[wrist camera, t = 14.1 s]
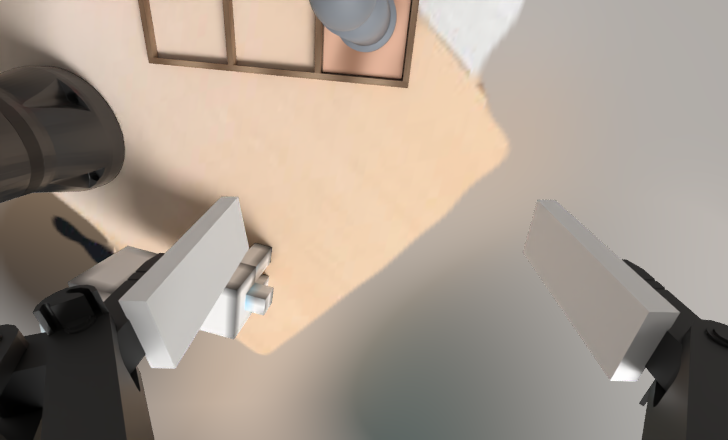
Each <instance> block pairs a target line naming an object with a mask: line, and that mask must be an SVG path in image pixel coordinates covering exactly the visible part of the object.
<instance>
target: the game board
mask: <svg viewBox="0 0 728 440" xmlns="http://www.w3.org/2000/svg"><path fill="white" fill-rule="evenodd" d="M138 3H139V8H140V14H141V20H142V25H143V31H144V37H145V43H146V48H147V54H148V60H149V63H153V64H164V65H174V66H184V67H195V68H205V69H215V70H226V71H236V72H246V73H257V74H267V75H277V76H288V77H298V78H308V79H319V80H329V81H339V82H350V83H360V84H370V85H381V86H391V87H401V88H408V83H409V75H410V67H411V59H412V52H413V44H414V36H415V29H416V21H417V13H418V6H419V0H413V2H412V10H411V18H410V26H409V34H408V42H407V50H406V58H405V67H404V75H403V81H396V80H386V79H375V78H365V77H354V76H344V75H333V74H323V73H322V50H323V24H322V22H321V21H320V20H319V19H318V18H317V16H316V15H315V69H314V73H312V72H301V71H291V70H280V69H270V68H259V67H249V66H238V65H237V62H236V48H235V34H234V20H233V7H232V0H223V12H224V24H225V36H226V48H227V60H228V64H217V63H207V62H196V61H186V60H175V59H165V58H158V54H157V48H156V42H155V36H154V29H153V23H152V17H151V11H150V5H149V0H138ZM394 3H395V7H396V13H397V20H396V26H395V30H394V32H393V34H392V36H391V38H390V39H389V41H388V42H387V43H386V44H385V45H384V46H383V47H381V48H380V49H378V50H376V51H373V52H359V51H356V50H354V49H352V48H350V47H349V46H347V45H346V44H345V43H344V42H343V41H342V39H341V38H340V36H338V35H336V34H334V33H332V32H331V31H329V30H328V29H327V28H326V27H325V26H324V52H323V72H333V73H344V74H354V75H365V76H375V77H386V78H396V79H402V70H403V62H404V54H405V46H406V38H407V29H408V21H409V13H410V5H411V0H394Z"/></svg>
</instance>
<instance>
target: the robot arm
mask: <svg viewBox="0 0 728 440" xmlns="http://www.w3.org/2000/svg"><path fill="white" fill-rule="evenodd" d="M123 161H124V141H123V136H122V132H121V129H120V127H119V124H118V122H117V120H116V118H115V116H114V114H113V112H112V110H111V109H110V107H109V106H108V104H107V103H106V102H105V100H104V99H103V98H102V97H101V96H100V94H99V93H98V92H97V91H96V90H95V89H94V88H93V87H91V86H90V85H89V84H88V83H87V82H85V81H84V80H83V79H81V78H80V77H78V76H76V75H74V74H73V73H71V72H68V71H66V70H63V69H60V68H56V67H50V66H24V67H18V68H14V69H11V70H9V71H6V72H3V73H0V203H2V202H5V201H8V200H11V199H14V198H17V197H20V196H24V195H27V194H30V193H38V192H77V191H86V190H90V189H93V188H96V187H99V186H102V185H104V184H107V183H109V182H110V181H112V180H113V179H114V178H115V177H116V176H117V175H118V173H119V172H120V170H121V167H122V165H123ZM248 249H249V245H248V241H247V236H246V231H245V227H244V222H243V217H242V212H241V208H240V203H239V198H238V197H220V198H219V199H218V200H217V202H216V203H215V204H214V205H213V206H212V207H211V208H210V209H209V210H208V211H207V212H206V213H205V214H204V215H203V216H202V217H201V218H200V219H199V220H198V221H197V222H196V223H195V224H194V225H193V226H192V227H191V228H190V229H189V230H188V231H187V232H186V233H185V234H184V235H183V236H182V237H181V238H180V239H179V240H178V241H177V242H176V243H175V244H174V245H173V246H172V247H171V248H170V249H169V250H168V251H167V252H166V253H159V254H157V255H156V256H154V257H152V258H150V259H149V260H147V261H145V262H144V263H143V264H142V265H141V266H140V267H139V268H138V269H137V270H136V273H133V274H132V275H131V276H130V277H129V278H128V280H127V281H125V282H124V283H123V284H121V285H120V286H119V287H118V288H117V289H116V290H115V291H114V292H113V293H112V294H111V295H110V296H109V297H108V298H107V299H106V300H105V301H104V302H103V300H102V298H101V296H100V294H99V293H98V291H97V289H96V288H95V286H91V285H77V286H73V287H69V288H65V289H63V290H60V291H58V292H56V293H54V294H52V295H50V296H49V297H47V298H45V299H44V300H42V301H41V302H40V303H39V304H38V305H37V306H36V307H35V309H34V311H33V314H34V315H35V317H36V318H37V320H38V321H39V323H40V324H41V326H42V327H43V329H44V330H45V332H43V333H39V334H34V335H29V336H23V335H22V333H21V332H20V331H19V329H18V328H17V327H16V326H15V325H9V324H6V325H0V440H154V435H153V431H152V426H151V421H150V416H149V411H148V407H147V402H146V398H145V392H144V387H143V383H142V378H141V373H140V371H139V369H138V368H137V365H138V364H139V362H140V361H141V360H142V358H143V357H144V356H146V358H147V360H148V362H149V364H150V366H151V368H176V367H177V365H178V363H179V362H180V360H181V359H182V357H183V355H184V354H185V352H186V350H187V349H188V347H189V346H190V344H191V342H192V341H193V339H194V337H195V336H196V334H197V332H198V331H199V329H200V328H201V326H202V324H203V323H204V321H205V319H206V318H207V316H208V315H209V313H210V311H211V310H212V308H213V306H214V305H215V303H216V301H217V300H218V298H219V297H220V295H221V293H222V292H223V290H224V288H225V287H226V285H227V284H228V282H229V280H230V279H231V277H232V275H233V274H234V272H235V270H236V269H237V267H238V266H239V264H240V262H241V261H242V259H243V257H244V256H245V254H246V252H247V251H248ZM523 254H524V255H525V256H526V258H527V259H528V261H529V262H530V264H531V265H532V267H533V268H534V270H535V271H536V272H537V274H538V276H539V277H540V278H541V280H542V281H543V283H544V284H545V286H546V287H547V289H548V290H549V292H550V293H551V295H552V296H553V297H554V299H555V300H556V302H557V303H558V305H559V306H560V308H561V309H562V311H563V312H564V314H565V315H566V316H567V318H568V320H569V321H570V322H571V324H572V325H573V327H574V328H575V330H576V331H577V333H578V334H579V336H580V337H581V339H582V340H583V342H584V343H585V344H586V346H587V347H588V349H589V350H590V352H591V353H592V355H593V356H594V358H595V359H596V361H597V362H598V363H599V365H600V366H601V368H602V369H603V371H604V372H605V374H606V375H607V376H608V378H609V380H610V381H637V380H638V379H639V377H640V376H641V374H642V372H643V371H644V369H645V368H647V369H648V371H649V372H650V373H651V374H652V375H653V377H654V378H655V380H654V382H653V383H652V385H651V386H650V388H649V389H648V391H647V392H646V394H645V395H644V397H643V398H642V400H641V401H640V403H639V404H641V405H643V406H644V405H645V404H646V402H648V403H647V409H646V415H645V422H644V429H643V435H642V440H728V326H727V325H725V324H722V323H718V322H715V321H712V320H701V319H700V318H699V317H698V316H697V315H695V314H694V313H693V312H692V311H691V310H690V309H689V308H687V307H686V306H685V305H684V304H683V303H682V302H681V301H679V300H678V299H677V298H676V297H675V296H674V295H672V294H671V293H670V292H669V291H668V290H665V288H664V287H663V286H662V285H661V284H660V283H658V282H657V281H655V280H654V278H653V277H652V276H650V275H649V274H648V273H647V272H646V271H645V270H643V269H642V268H640V267H639V266H637V265H635V264H633V263H631V262H629V261H628V260H621V259H620V258H619V257H618V256H617V255H616V254H615V253H614V252H613V251H611V250H610V249H609V248H608V247H607V246H606V245H605V244H604V243H603V242H601V241H600V240H599V239H598V238H597V237H596V236H595V235H593V233H591V232H590V231H589V230H588V229H587V228H586V227H585V226H584V225H583V224H581V223H580V222H579V221H578V220H577V219H576V218H575V217H574V216H573V215H572V214H570V213H569V212H568V211H567V210H566V209H565V208H564V207H563V206H562V205H560V204H559V203H558V202H557V201H556V200H537V203H536V207H535V210H534V214H533V217H532V221H531V224H530V228H529V232H528V236H527V239H526V242H525V246H524V250H523Z"/></svg>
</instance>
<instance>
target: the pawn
mask: <svg viewBox="0 0 728 440" xmlns="http://www.w3.org/2000/svg"><path fill="white" fill-rule="evenodd" d="M309 1H310V4H311V7H312V9H313V11H314V13H315V15H316V16H317V18H318V19H319V20H320V21H321V22H322V24H323V25H324V26H325V27H326V28H327V29H328V30H329V31H331V32H332V33H334V34H336V35H338V36H340V38H341V39H342V41H343V42H344V43H345V44H346V45H347V46H349V47H350V48H352V49H354V50H356V51H359V52H373V51H376V50H378V49H380V48H381V47H383V46H384V45H385V44H386V43H387V42H388V41H389V39H390V38H391V36H392V34H393V32H394V30H395V26H396V20H397V13H396V7H395V3H394V0H309Z"/></svg>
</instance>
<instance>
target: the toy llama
mask: <svg viewBox="0 0 728 440" xmlns="http://www.w3.org/2000/svg"><path fill="white" fill-rule="evenodd" d="M271 252H272V247H269V246H265V245H261V244H257V243H254V244H253V245H252V246H251V248H250V249H249V250H248V251H247V252H246V254H245V256H244V257H243V259H242V261H241V262H240V264H239V266H238V267H237V269H236V270H235V272H234V274H233V275H232V277H231V279H230V280H229V282H228V284H227V285H226V287H225V288H224V290H223V292H222V293H221V295H220V297H219V298H218V300H217V301H216V303H215V305H214V306H213V308H212V310H211V311H210V313H209V315H208V316H207V318H206V319H205V321H204V323H203V324H202V326H201V328H200V329H199V330H202V331H206V332H210V333H213V334H217V335H220V336H224V337H228V338H231V339H234V338H235V337H236V336H237V334H238V333H239V331H240V330H241V328H242V327H243V325H244V324H245V322H246V321H247V319H248V318H249V316H250V315H251V313H252V312H253V313H257V314H261V315H264V314H265V313H266V311H267V310H268V308H269V306H270V305H271V303H272V297H273V287H269V286H268V280H269V276H266V275H262V273H263V271H264V270H265V269H266V267H267V266H268V265H269V263H270V262H271ZM156 255H157V254H156V253H153V252H149V251H145V250H141V249H138V248H134V247H130V246H127V247H125V248H123V249H122V250H120V251H118V252H117V253H115V254H113V255H112V256H110V257H108V258H107V259H105V260H103V261H102V262H100V263H98V264H97V265H95V266H93V267H92V268H90V269H89V270H87V271H85V272H84V273H82V274H80V275H79V276H77V277H75V278H74V279H72V280H70V281H69V282H68V285H69V287H73V286H77V285H91V286H95V288H96V289H97V291H98V293H99V294H100V296H101V298H102V300H103V302H104V301H105V300H106V299H107V298H108V297H109V296H110V295H111V294H112V293H113V292H114V291H115V290H116V289H117V288H118V287H119V286H120V285H121V284H123V283H124V282H125V281H127V280H128V278H129V277H130V276H131V275H132V274H133V273H136V270H137V269H138V268H139V267H140V266H141V265H142V264H143V263H144V262H145V261H147V260H149V259H150V258H152V257H154V256H156ZM39 325H40V329H41V332H42V333H43V332H45V330H44V329H43V327H42V326H41V324H40V323H39Z"/></svg>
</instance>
